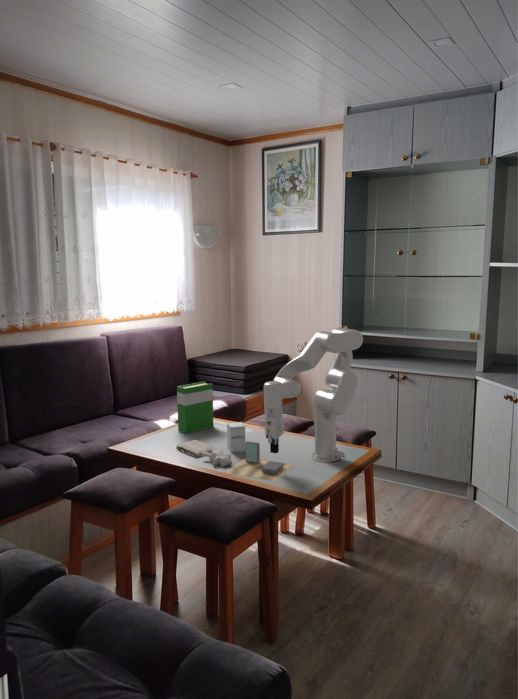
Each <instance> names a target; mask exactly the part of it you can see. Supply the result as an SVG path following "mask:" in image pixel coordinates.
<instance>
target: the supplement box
mask: <svg viewBox="0 0 518 699" xmlns="http://www.w3.org/2000/svg"><path fill="white" fill-rule="evenodd" d="M226 432H227V433H226V437H227V438H226V443H227V445H226V446H227V449H228V451H229V452H230V453H241V452H246V446H245V442H246V426H245V424H244V423H243V422H242V421H240V422H230V423H229V422H228V423H227V422H226Z"/></svg>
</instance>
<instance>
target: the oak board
mask: <svg viewBox="0 0 518 699" xmlns="http://www.w3.org/2000/svg"><path fill="white" fill-rule="evenodd" d="M270 461H271V460H265V459H260V462H259V463H251V462H246V456H245V457H244V458H242V460H240V461H238V462H237V463H236V464H234V465H233V466H232V467H231V468H229V469H228V470H227V471H226V472H225V474H230V475H235V476H243V477H246V478H252V479H259V480H260V479H261V480H266V481H273V482H277V480H279V479H280V477H282V476H283V475H284V474H285V473H286V472H287V471H288V470H289V469H290V468H291V467H292V466H293V463H286V462H282V463H283V468H282V469H280V470H279V471H278V472H277V473H276V474H275V475H274V474H268V473H263V472H262V468H263V467H264V466H265V465H266V464H268V463H269V462H270Z"/></svg>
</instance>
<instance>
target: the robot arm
mask: <svg viewBox="0 0 518 699" xmlns="http://www.w3.org/2000/svg"><path fill="white" fill-rule="evenodd" d="M363 342H364V337H363V334H362V333H361V332H360V331H359V330H357V329H351V328H345V327H336V328H333V329H332V331H320V330H319V331H318V332H316V333H314V335H313V336H312V338H311V339H310V340H309V342H308V343H307V344H306V346H305V347H304V348H303V350H302V352H301V353H300V354H299V355H298V356H297V357H295V358H293V359H292V360H290V361H289V362H288V363H286V364H285V365H283V366H282V367H281V369H280V370H279V372H278V373H277V374H276V375H275V377H274V378H273V380H270V381H267V382H265V383H264V384H263V403H264V404H263V405H264V410H263V411H264V416H265V419H264V420H265V421H264V424H265V425H264V434H265V435H264V436H265V438H266V439H267V443H269V446H270V448H269V450H270V453H271V454H278V453H279V452H280V451H279V450H280V449H279V446H280V444H279V441H280V437H281V436H282V435H284V434H285V429H284V428H285V427H284V425H285V424H284V418H283V399H293V398H296V397H298V396H299V395H300V393H301V391H302V386H301V384H300V383H299V382H298V381H297V380H294V379H293V378H294V377H295V376H297V375H299V374H301V373H303V372H307V371H310V370H313V369H315V368H316V367H317V366H318V363H319V362H320V361H321V360H322V359H323V357H324V356H325V354H326V353H327V352H328V353H331V354H333V358H332V360H331V362H330V365H329V367H328V369H327V373H326V374H325V378H324V382H325V384H326V386H328V387H330V388H331V389H333V390H330V389H327V388H321V389H318V390H316V392H315V393H314V394H313V398H312V404H313V410H314V452H313V453H311V459H312V460H313V461H316V462H319V461H320V463H332V462H331V461H334V462H336V460H337V461H338V460H340V458H345V457H346V453H345V452H344V451H343V450H342V451H340V450H339V447H337V416H342V415H344V414H345V413H346V412H347V411H348V409H349V407H350V405H351V403H352V401H353V398H354V396H355V393H356V390H357V388H358V384H359V383H358V382H359V380H358V376H357V374H356V373H355V372H354V371H352V370H350V369H351V366H352V363H353V358H354V357H353V351H354V350H355V351H356V350H357V349H359V348H360V347H361V346H362V345H363ZM334 389H335V391H334Z"/></svg>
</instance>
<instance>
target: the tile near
mask: <svg viewBox="0 0 518 699" xmlns="http://www.w3.org/2000/svg"><path fill="white" fill-rule="evenodd" d="M269 461H270V462H269V463H268V464H266V465H265V466H264V467H263V468H262V472H263V473H268V474H274V475H275V474H276V473H277V472H278V471H279V470H280V469H282V468H283V463H284V462H279V461H278V462H277V461H273V460H269Z"/></svg>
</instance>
